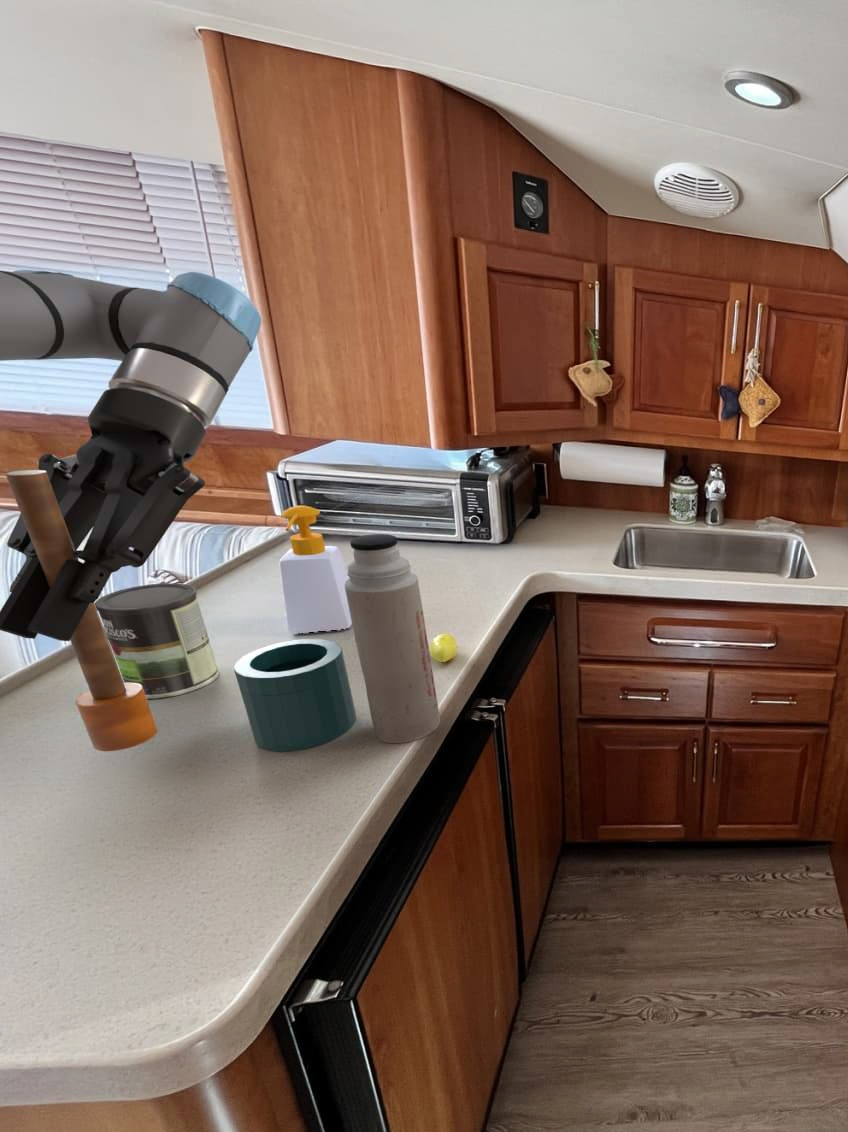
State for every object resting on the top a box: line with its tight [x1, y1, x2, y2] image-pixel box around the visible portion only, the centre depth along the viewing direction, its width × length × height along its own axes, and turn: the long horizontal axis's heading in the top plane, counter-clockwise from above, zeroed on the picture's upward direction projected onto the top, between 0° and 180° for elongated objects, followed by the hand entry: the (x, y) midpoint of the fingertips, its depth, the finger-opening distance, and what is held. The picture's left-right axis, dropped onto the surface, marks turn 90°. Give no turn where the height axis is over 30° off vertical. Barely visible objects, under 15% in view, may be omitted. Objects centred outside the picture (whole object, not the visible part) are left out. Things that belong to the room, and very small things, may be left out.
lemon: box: [429, 633, 459, 663], centre depth 108 cm, size 4×8×4 cm, turn 22°
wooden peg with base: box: [5, 469, 159, 752], centre depth 57 cm, size 4×4×26 cm
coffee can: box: [94, 582, 220, 700], centre depth 93 cm, size 10×10×14 cm
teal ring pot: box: [233, 638, 357, 752], centre depth 86 cm, size 11×11×11 cm
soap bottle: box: [278, 505, 352, 635], centre depth 111 cm, size 10×14×22 cm
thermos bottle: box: [345, 533, 441, 744], centre depth 84 cm, size 8×8×28 cm
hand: (31, 633), depth 53 cm, fingers closed on wooden peg with base, 2 cm apart
